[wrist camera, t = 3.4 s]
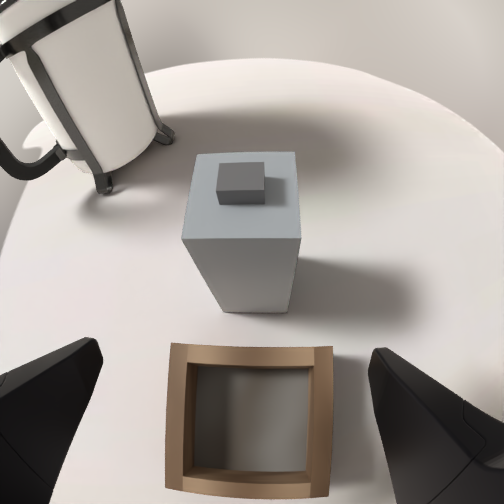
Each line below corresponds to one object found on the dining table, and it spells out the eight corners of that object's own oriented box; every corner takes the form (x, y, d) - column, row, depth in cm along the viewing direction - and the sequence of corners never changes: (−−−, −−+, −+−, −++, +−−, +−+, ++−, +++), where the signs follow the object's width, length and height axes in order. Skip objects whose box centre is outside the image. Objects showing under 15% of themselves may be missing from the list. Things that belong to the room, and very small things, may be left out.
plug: (285, 255, 25) (295, 137, 13) (286, 312, 23) (303, 225, 11) (227, 255, 25) (193, 140, 13) (223, 312, 23) (174, 226, 11)
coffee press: (90, 123, 37) (21, -35, 10) (186, 107, 35) (140, -94, 9) (44, 218, 29) (-88, 34, 2) (154, 212, 28) (26, -89, 1)
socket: (322, 353, 21) (332, 346, 17) (318, 479, 16) (328, 496, 13) (187, 350, 22) (170, 342, 18) (182, 473, 17) (165, 487, 13)
